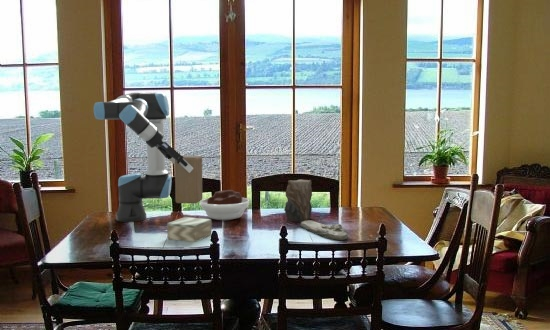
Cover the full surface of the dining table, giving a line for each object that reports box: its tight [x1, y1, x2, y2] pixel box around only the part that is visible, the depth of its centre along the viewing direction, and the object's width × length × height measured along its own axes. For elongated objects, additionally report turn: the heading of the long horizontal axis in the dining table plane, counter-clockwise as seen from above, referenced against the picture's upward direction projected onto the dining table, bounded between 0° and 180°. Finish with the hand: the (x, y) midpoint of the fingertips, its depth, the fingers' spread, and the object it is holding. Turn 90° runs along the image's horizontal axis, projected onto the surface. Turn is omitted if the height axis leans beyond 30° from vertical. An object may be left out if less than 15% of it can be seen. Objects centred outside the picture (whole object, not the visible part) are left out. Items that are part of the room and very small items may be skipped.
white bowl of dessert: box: [199, 189, 250, 221], centre depth 280 cm, size 25×25×15 cm
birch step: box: [166, 216, 213, 243], centre depth 242 cm, size 14×14×7 cm
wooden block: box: [174, 155, 203, 204], centre depth 239 cm, size 10×10×20 cm
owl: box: [283, 178, 313, 223], centre depth 277 cm, size 13×13×20 cm
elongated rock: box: [300, 219, 349, 241], centre depth 248 cm, size 35×5×10 cm
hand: (186, 169), depth 239 cm, fingers closed on wooden block, 13 cm apart
